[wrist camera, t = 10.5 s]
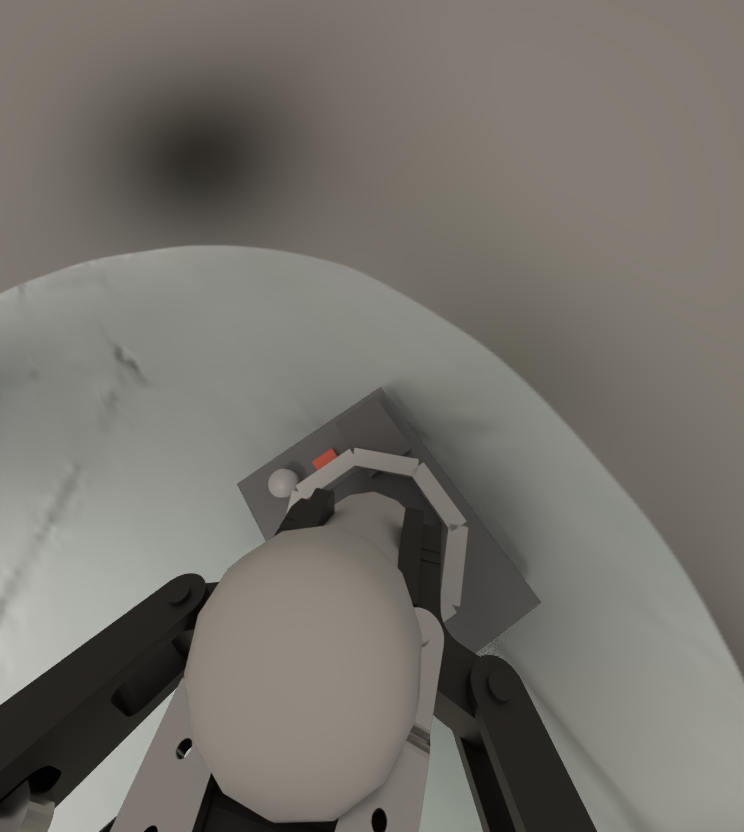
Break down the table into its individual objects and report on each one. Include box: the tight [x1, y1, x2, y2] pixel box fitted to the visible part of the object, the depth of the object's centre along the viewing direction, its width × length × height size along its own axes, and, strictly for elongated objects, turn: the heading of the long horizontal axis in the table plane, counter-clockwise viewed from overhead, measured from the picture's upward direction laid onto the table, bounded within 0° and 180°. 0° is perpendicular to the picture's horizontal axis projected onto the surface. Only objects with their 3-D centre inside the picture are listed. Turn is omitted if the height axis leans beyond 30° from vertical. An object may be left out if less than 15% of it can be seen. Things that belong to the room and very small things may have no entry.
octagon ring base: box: [237, 387, 541, 653], centre depth 18 cm, size 16×12×6 cm
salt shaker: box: [184, 492, 422, 823], centre depth 11 cm, size 6×6×13 cm
